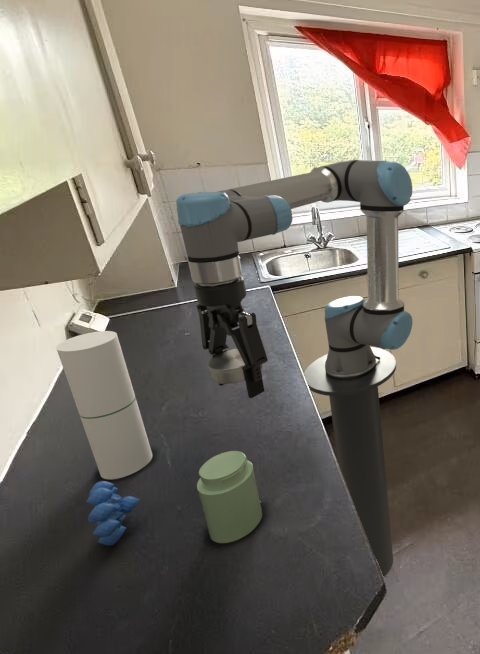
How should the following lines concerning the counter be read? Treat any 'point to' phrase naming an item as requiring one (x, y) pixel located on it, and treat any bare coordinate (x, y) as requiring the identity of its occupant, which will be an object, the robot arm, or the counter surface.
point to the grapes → (109, 511)
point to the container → (106, 402)
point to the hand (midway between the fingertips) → (241, 387)
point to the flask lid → (227, 367)
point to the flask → (229, 496)
